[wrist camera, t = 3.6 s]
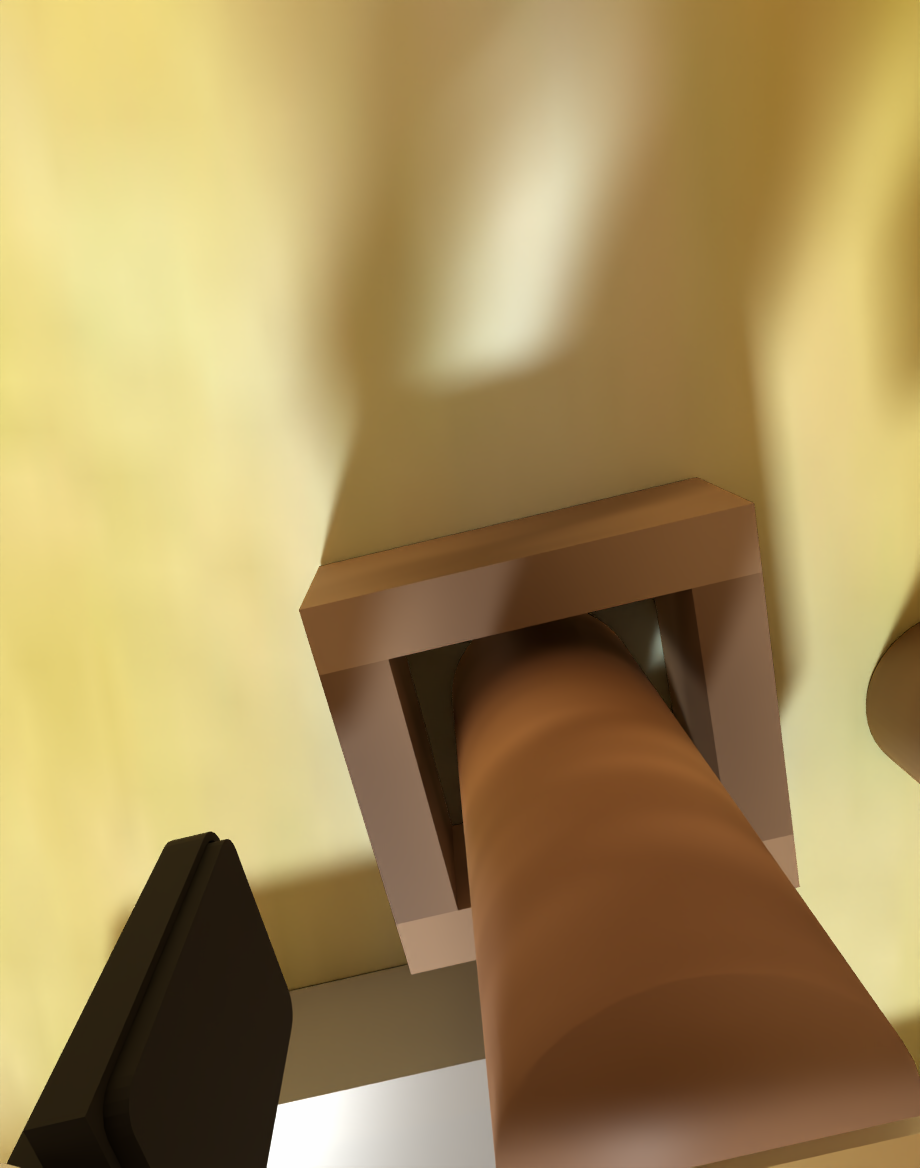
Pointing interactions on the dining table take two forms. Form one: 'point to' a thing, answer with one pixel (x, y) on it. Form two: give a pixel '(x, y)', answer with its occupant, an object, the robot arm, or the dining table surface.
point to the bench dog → (898, 702)
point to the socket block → (530, 597)
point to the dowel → (641, 931)
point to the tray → (386, 1074)
